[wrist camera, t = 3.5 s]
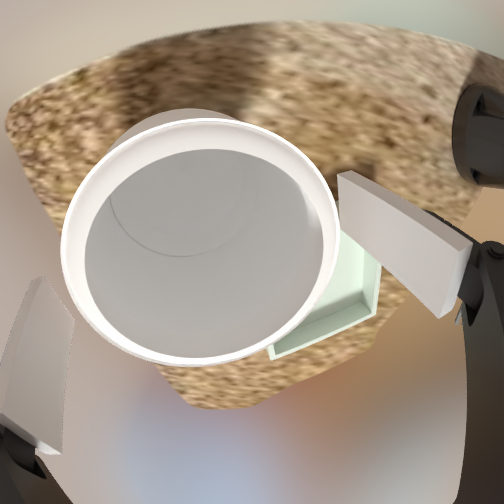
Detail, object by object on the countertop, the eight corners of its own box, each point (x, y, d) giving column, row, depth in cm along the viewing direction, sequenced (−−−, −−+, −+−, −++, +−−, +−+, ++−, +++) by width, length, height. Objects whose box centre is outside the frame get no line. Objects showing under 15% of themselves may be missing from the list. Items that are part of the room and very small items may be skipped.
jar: (89, 175, 20) (16, 292, 8) (179, 76, 19) (214, 44, 6) (182, 249, 26) (216, 393, 14) (266, 167, 25) (379, 257, 12)
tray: (364, 192, 29) (385, 205, 26) (361, 298, 37) (375, 314, 35) (232, 234, 27) (242, 253, 24) (261, 339, 35) (270, 360, 33)
